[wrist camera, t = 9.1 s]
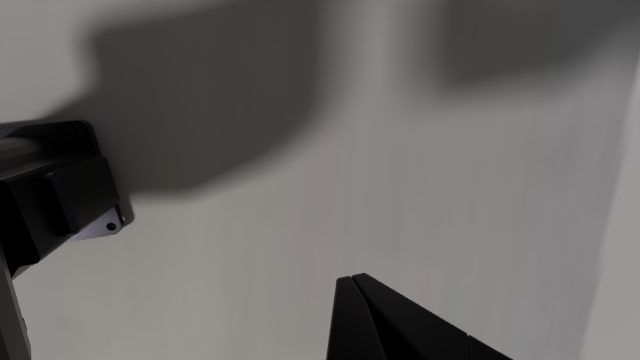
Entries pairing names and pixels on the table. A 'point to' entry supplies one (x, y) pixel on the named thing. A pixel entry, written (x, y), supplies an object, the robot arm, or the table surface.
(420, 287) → the table surface
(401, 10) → the table surface
